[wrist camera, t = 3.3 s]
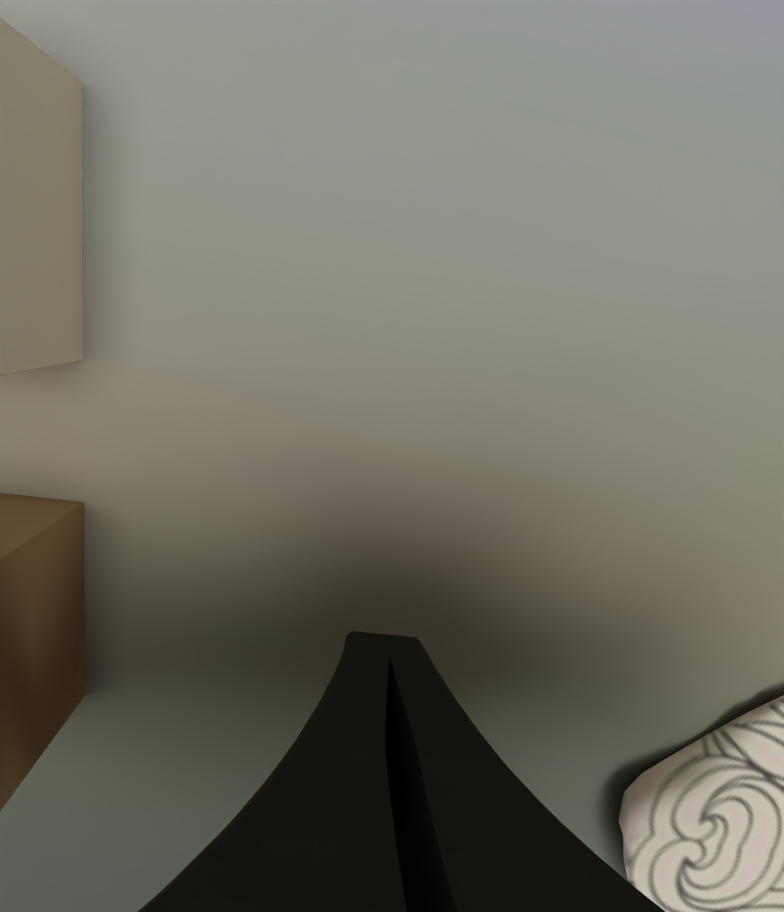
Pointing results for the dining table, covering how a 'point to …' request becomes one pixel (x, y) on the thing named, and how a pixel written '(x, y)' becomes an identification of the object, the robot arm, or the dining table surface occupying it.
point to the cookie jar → (712, 820)
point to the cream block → (39, 208)
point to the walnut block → (38, 627)
